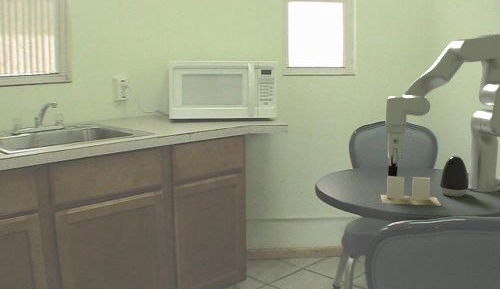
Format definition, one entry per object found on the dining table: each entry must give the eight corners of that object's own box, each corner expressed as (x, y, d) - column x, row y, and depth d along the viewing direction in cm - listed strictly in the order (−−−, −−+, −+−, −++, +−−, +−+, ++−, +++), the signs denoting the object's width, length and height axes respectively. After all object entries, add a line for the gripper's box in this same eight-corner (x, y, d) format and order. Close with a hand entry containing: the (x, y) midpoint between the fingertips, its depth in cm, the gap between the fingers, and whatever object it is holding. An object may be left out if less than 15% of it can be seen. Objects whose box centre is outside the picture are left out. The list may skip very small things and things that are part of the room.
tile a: (428, 198, 185) (429, 177, 183) (429, 200, 183) (430, 178, 182) (411, 198, 186) (412, 177, 184) (412, 199, 184) (413, 177, 183)
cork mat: (436, 198, 187) (436, 197, 187) (441, 207, 176) (441, 205, 176) (380, 196, 191) (380, 194, 190) (382, 204, 180) (382, 202, 180)
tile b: (403, 197, 186) (404, 176, 185) (403, 198, 185) (404, 177, 183) (386, 196, 188) (387, 176, 186) (386, 198, 186) (387, 176, 185)
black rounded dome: (433, 195, 191) (436, 156, 188) (446, 190, 198) (448, 152, 196) (460, 201, 184) (463, 160, 181) (472, 195, 191) (475, 156, 188)
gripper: (407, 131, 183) (404, 181, 186) (403, 126, 198) (400, 172, 201) (386, 131, 185) (383, 179, 188) (384, 126, 199) (381, 171, 202)
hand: (392, 175), depth 194 cm, fingers closed
